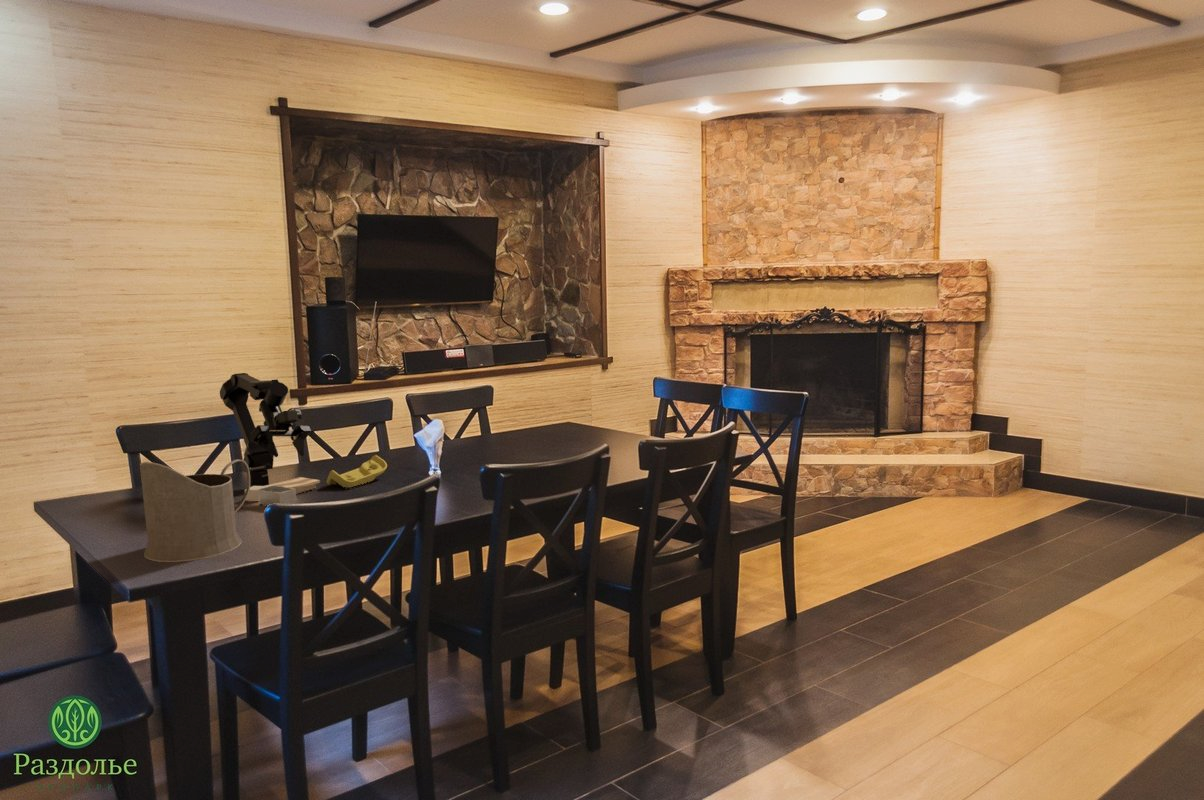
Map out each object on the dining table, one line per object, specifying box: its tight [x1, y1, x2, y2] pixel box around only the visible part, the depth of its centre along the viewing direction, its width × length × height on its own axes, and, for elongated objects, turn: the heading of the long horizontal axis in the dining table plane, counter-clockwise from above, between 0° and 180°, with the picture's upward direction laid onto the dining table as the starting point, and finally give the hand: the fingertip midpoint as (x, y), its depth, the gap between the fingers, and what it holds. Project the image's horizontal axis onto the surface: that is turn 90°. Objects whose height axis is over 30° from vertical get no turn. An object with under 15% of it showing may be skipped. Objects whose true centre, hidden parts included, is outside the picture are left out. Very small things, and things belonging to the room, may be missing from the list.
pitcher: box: [139, 458, 250, 563], centre depth 238 cm, size 23×32×25 cm
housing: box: [259, 485, 298, 507], centre depth 277 cm, size 10×6×5 cm, turn 56°
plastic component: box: [326, 455, 388, 488], centre depth 306 cm, size 20×7×10 cm
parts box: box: [244, 486, 268, 500], centre depth 285 cm, size 5×5×4 cm
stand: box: [266, 476, 321, 493], centre depth 294 cm, size 10×14×3 cm
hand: (290, 456), depth 279 cm, fingers open, 9 cm apart
